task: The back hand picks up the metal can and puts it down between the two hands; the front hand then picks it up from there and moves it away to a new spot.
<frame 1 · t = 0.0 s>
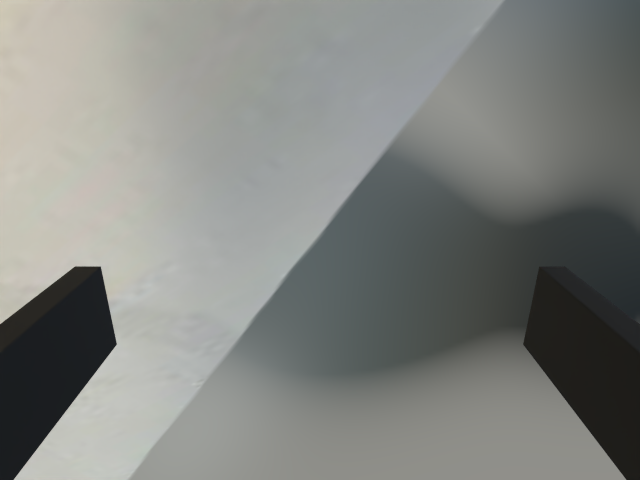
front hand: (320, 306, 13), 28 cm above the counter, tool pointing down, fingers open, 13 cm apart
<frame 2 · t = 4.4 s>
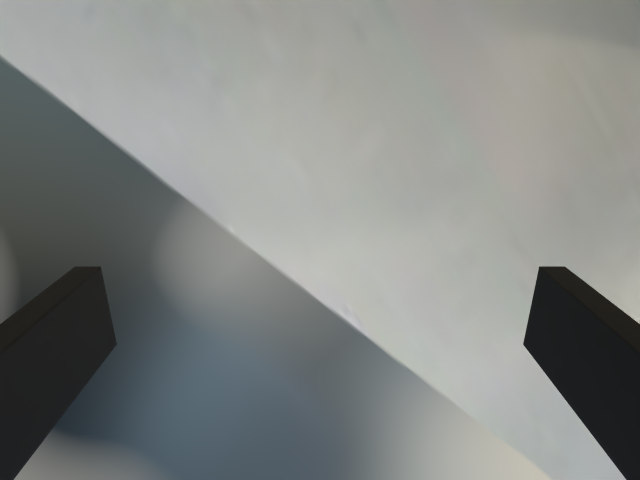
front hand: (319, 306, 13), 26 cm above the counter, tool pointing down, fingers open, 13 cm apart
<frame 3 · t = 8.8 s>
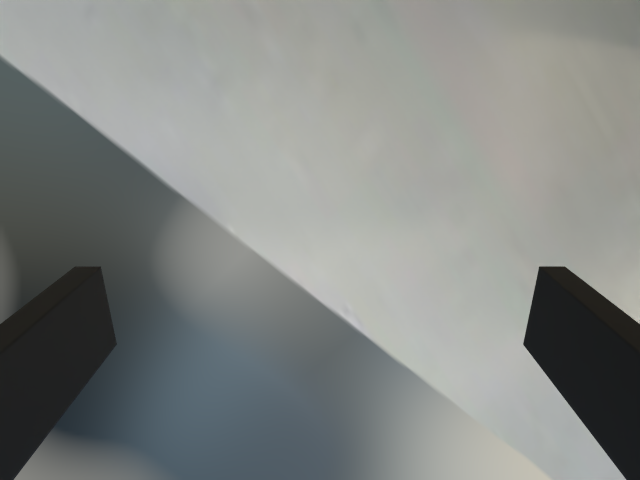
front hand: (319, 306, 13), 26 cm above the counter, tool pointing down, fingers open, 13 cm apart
when the back hand's fingers open (3 cm above the counter, at t = 13.5 s): can drops 2 cm, on the counter.
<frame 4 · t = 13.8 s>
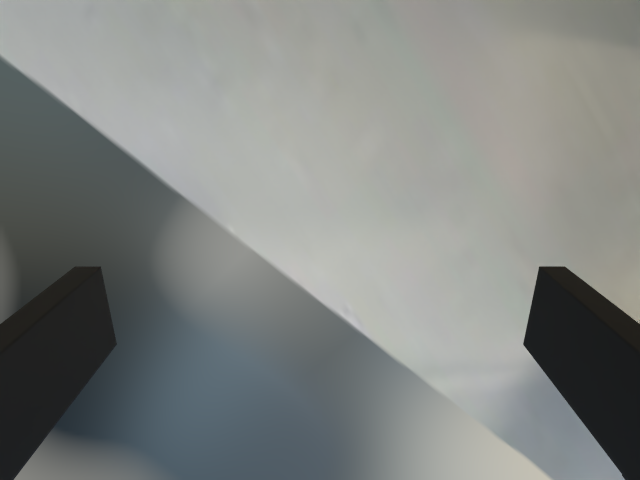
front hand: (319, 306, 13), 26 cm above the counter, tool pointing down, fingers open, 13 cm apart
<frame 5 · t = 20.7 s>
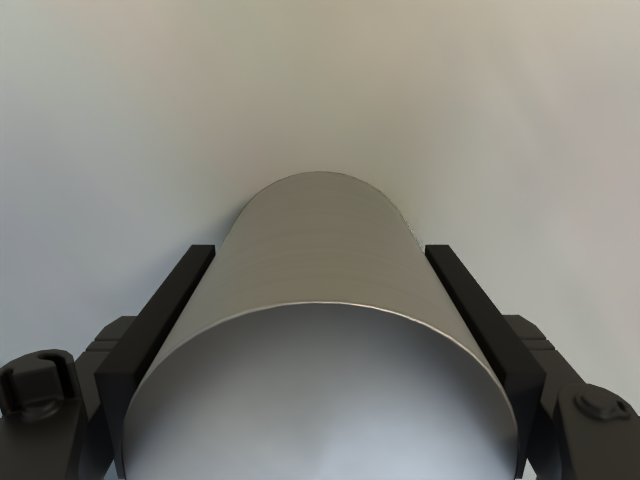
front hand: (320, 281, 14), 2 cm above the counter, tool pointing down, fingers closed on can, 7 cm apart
can: (320, 262, 16), on the counter, touching front hand
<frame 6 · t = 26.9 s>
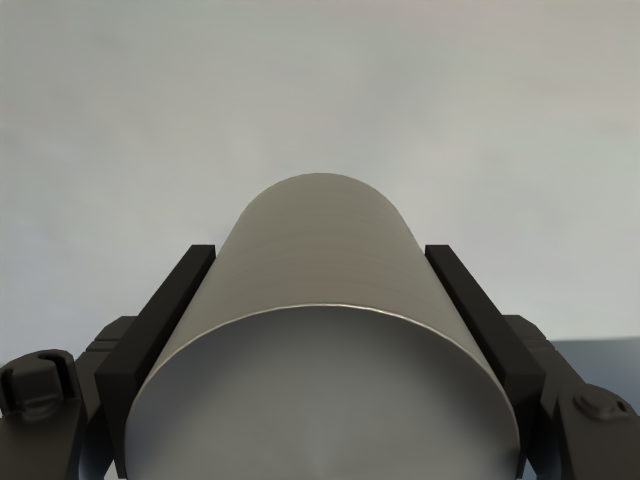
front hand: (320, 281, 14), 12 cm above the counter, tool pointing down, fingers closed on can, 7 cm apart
can: (320, 263, 16), point 11 cm above the counter, touching front hand
when the front hand's fingers open (3 cm above the counter, at t = 33.2 s): can drops 2 cm, on the counter.
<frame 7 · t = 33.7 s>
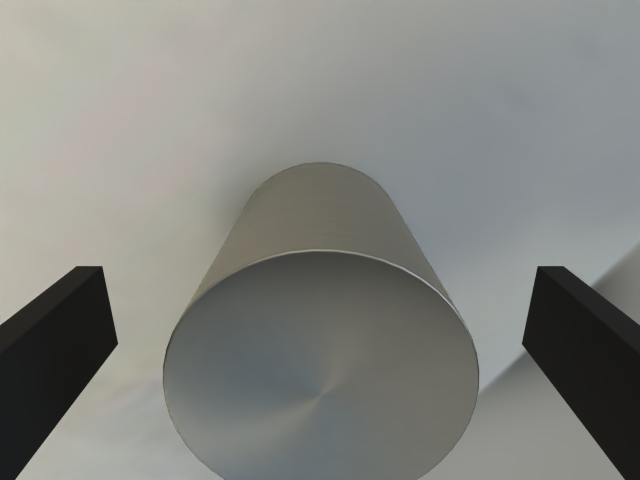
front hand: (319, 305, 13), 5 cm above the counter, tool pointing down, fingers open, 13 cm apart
can: (320, 244, 18), on the counter
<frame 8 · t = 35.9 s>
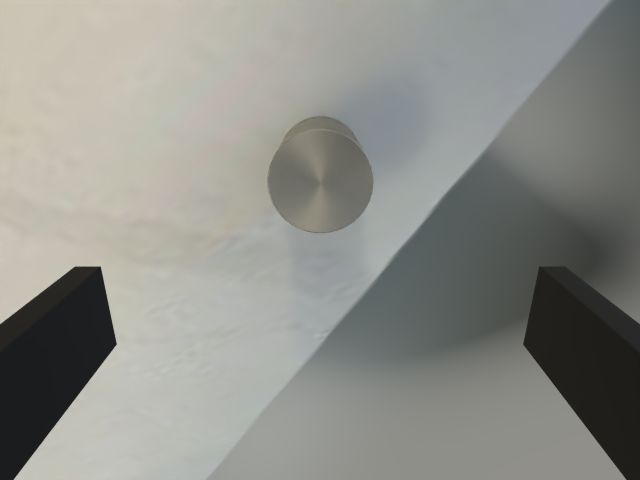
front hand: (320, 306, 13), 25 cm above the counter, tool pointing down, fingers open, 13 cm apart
can: (320, 158, 36), on the counter
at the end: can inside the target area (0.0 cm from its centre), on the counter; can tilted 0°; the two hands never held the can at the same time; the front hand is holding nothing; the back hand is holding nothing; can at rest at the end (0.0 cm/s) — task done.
